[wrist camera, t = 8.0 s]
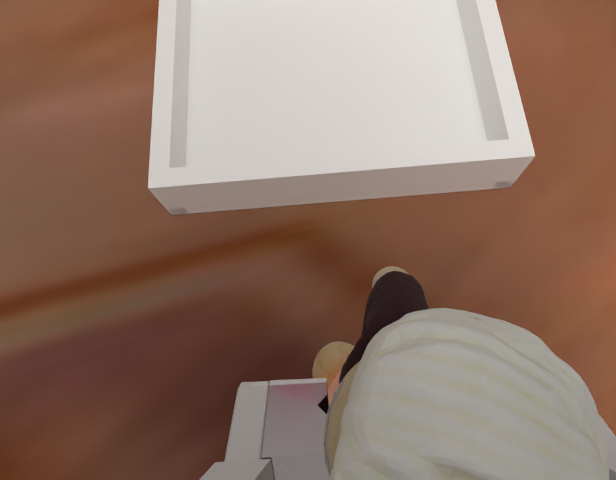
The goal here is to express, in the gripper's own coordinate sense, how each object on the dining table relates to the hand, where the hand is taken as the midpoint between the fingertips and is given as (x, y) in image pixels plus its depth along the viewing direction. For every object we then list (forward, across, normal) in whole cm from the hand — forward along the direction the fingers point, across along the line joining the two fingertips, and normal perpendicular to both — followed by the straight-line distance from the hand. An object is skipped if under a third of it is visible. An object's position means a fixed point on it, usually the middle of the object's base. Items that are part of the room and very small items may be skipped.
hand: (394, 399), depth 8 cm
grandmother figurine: (+5, +1, +6) cm, 8 cm away
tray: (+29, 0, -2) cm, 29 cm away
